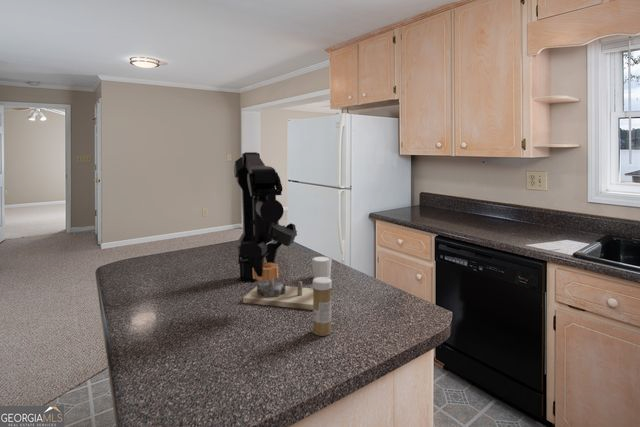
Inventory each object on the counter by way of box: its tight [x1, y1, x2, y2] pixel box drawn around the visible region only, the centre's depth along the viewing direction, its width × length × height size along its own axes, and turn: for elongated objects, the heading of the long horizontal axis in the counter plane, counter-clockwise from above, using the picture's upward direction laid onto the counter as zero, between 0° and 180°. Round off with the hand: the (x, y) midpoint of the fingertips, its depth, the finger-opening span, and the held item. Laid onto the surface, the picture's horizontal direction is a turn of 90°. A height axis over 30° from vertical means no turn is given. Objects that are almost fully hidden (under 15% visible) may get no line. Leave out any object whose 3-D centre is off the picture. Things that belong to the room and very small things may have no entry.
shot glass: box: [311, 255, 333, 279], centre depth 130 cm, size 7×7×7 cm
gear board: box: [242, 279, 313, 311], centre depth 113 cm, size 22×12×6 cm, turn 75°
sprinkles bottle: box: [312, 277, 333, 337], centre depth 91 cm, size 5×5×13 cm
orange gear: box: [253, 262, 279, 282], centre depth 103 cm, size 7×7×3 cm
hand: (265, 272), depth 103 cm, fingers closed on orange gear, 7 cm apart
